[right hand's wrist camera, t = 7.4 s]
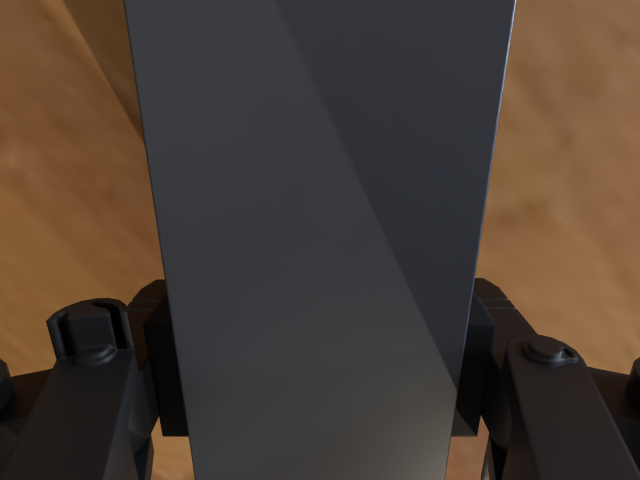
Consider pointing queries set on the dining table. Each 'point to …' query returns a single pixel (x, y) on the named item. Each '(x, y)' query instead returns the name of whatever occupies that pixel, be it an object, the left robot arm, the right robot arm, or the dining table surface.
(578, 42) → the dining table surface
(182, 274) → the bar
